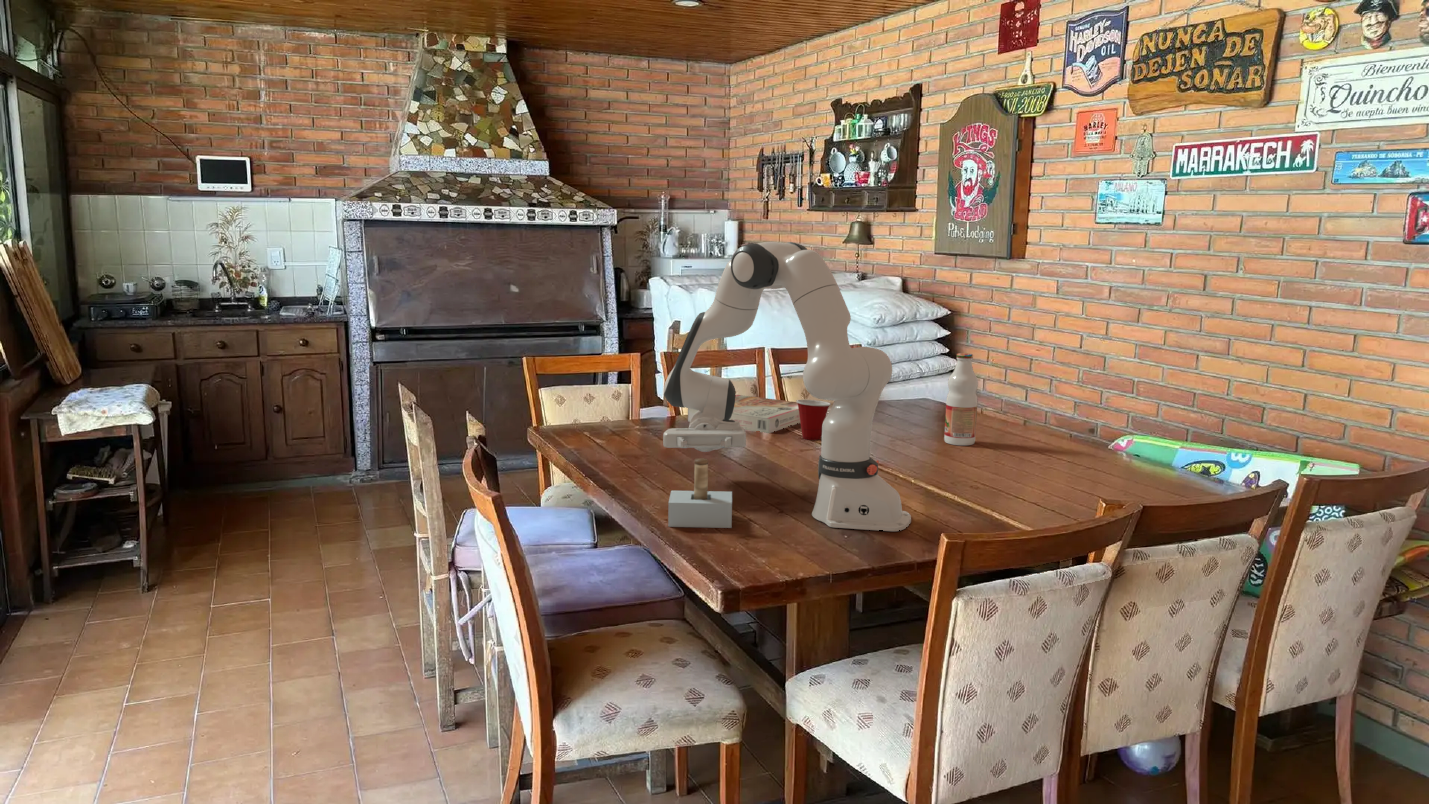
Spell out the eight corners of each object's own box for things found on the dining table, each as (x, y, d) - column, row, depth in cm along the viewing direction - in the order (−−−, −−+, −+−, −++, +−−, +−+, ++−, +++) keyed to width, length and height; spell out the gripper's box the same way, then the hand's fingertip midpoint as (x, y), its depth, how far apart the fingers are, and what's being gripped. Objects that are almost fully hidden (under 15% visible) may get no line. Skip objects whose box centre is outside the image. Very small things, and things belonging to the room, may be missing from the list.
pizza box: (737, 394, 355) (815, 404, 337) (737, 409, 355) (814, 419, 338) (687, 407, 328) (769, 418, 311) (687, 422, 329) (769, 434, 312)
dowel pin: (709, 510, 219) (710, 459, 216) (704, 514, 216) (705, 462, 214) (696, 508, 220) (697, 457, 218) (691, 512, 217) (692, 460, 215)
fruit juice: (962, 447, 296) (968, 356, 291) (937, 442, 303) (942, 353, 298) (981, 443, 301) (986, 354, 296) (956, 438, 309) (961, 351, 304)
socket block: (731, 514, 223) (731, 491, 222) (731, 527, 213) (731, 503, 212) (671, 513, 223) (671, 490, 222) (668, 526, 213) (668, 502, 212)
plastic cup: (836, 439, 304) (838, 402, 302) (810, 443, 298) (811, 405, 296) (814, 433, 313) (815, 396, 311) (788, 436, 307) (789, 399, 305)
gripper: (663, 421, 242) (659, 431, 228) (745, 420, 242) (746, 431, 228) (664, 445, 243) (660, 457, 229) (745, 445, 243) (746, 457, 229)
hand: (703, 444), depth 229 cm, fingers open, 8 cm apart
